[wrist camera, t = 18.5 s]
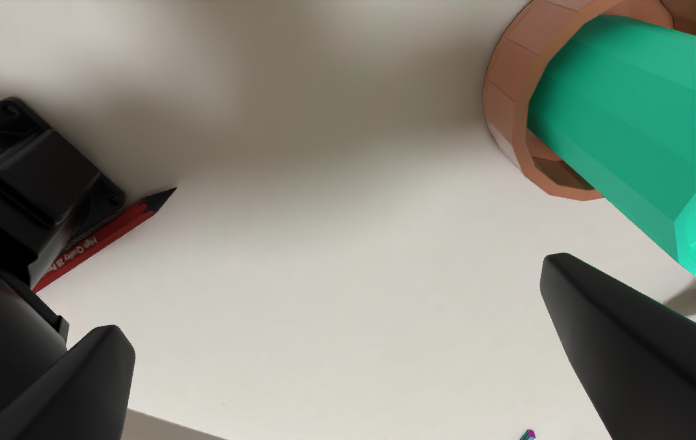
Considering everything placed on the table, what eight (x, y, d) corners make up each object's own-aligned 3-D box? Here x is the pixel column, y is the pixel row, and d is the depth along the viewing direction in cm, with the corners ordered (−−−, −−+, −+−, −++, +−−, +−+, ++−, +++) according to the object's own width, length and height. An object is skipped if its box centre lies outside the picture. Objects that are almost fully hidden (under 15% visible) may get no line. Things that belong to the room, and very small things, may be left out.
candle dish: (516, 193, 24) (546, 231, 21) (452, 46, 19) (480, 68, 16) (687, 106, 21) (748, 134, 18) (665, -86, 17) (743, -89, 14)
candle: (592, 156, 22) (826, 342, 12) (493, 123, 20) (670, 306, 11) (676, 39, 19) (1082, 161, 9) (567, -10, 17) (912, 74, 8)
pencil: (186, 187, 21) (181, 198, 21) (9, 305, 25) (-1, 318, 24) (173, 175, 21) (168, 185, 20) (-5, 296, 24) (-16, 309, 24)
